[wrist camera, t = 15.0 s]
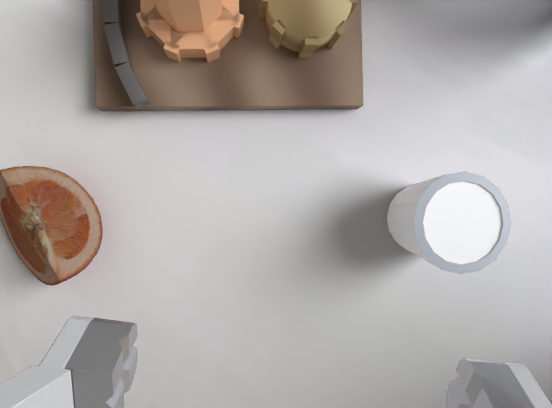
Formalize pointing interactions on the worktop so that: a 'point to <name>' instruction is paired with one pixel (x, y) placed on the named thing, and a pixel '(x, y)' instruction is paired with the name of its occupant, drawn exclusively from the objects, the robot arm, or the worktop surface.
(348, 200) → the worktop surface
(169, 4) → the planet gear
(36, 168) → the fruit slice
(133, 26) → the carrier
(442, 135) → the worktop surface
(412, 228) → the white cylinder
